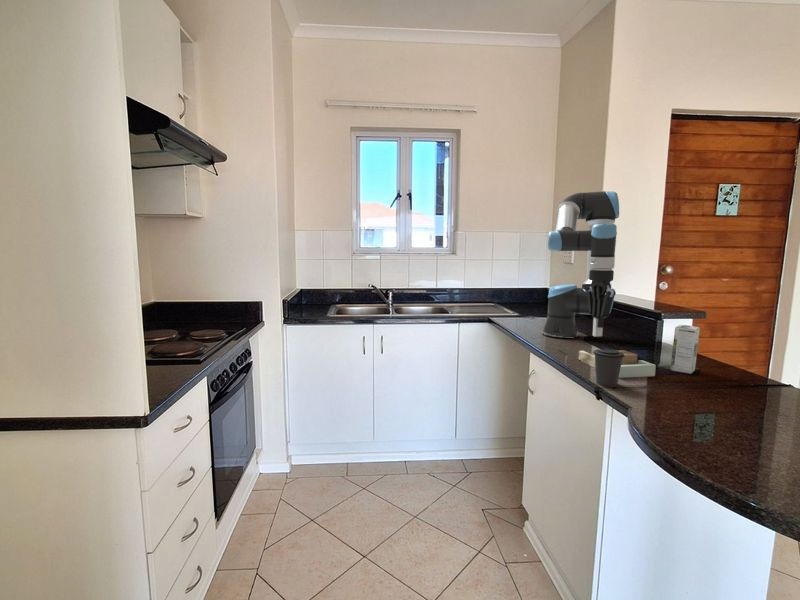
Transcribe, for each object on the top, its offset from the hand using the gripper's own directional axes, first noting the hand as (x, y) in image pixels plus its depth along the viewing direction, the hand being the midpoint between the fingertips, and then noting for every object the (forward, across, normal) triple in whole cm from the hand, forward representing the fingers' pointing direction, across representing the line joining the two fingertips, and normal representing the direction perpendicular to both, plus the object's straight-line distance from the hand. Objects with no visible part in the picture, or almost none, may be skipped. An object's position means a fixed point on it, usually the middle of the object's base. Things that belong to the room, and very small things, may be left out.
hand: (597, 335), depth 140 cm
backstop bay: (+8, +18, -1) cm, 19 cm away
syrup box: (+9, +17, +19) cm, 27 cm away
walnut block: (+8, +14, -1) cm, 16 cm away
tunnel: (+8, +6, -1) cm, 10 cm away
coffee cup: (+8, +25, -14) cm, 29 cm away
